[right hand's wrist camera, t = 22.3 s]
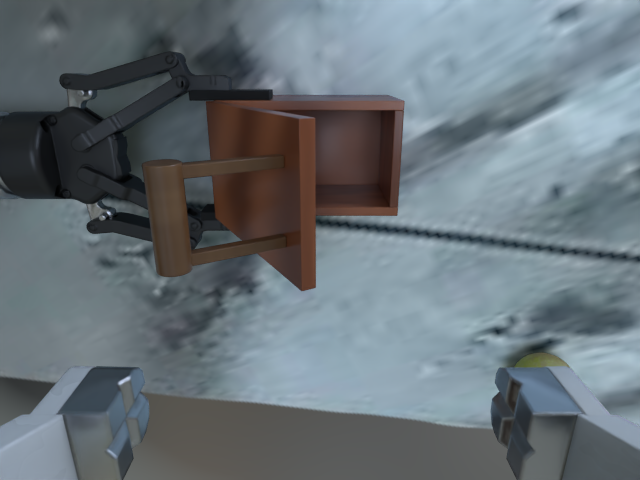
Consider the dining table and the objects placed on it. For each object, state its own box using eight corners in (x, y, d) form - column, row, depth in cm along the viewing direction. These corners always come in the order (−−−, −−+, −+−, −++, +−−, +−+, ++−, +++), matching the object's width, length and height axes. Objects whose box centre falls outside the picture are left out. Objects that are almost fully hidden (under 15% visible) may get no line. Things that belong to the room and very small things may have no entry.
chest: (388, 95, 45) (404, 100, 36) (384, 189, 48) (397, 215, 40) (234, 95, 45) (213, 100, 36) (239, 189, 48) (222, 215, 40)
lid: (315, 117, 23) (144, 126, 19) (316, 287, 26) (170, 324, 23) (217, 100, 36) (103, 104, 32) (225, 216, 39) (123, 232, 35)
